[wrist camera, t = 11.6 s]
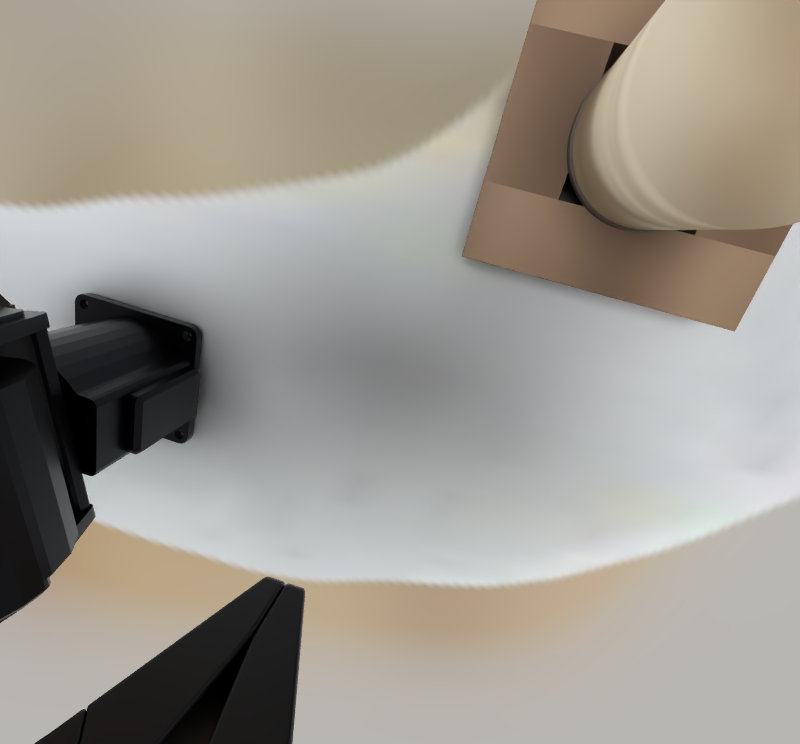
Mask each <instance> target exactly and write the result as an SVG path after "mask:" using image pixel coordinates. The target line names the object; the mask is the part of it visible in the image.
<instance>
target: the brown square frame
mask: <svg viewBox="0 0 800 744" xmlns="http://www.w3.org/2000/svg"><path fill="white" fill-rule="evenodd" d="M664 1H665V0H537V2H536V5H535V8H534V12H533V15H532V19H531V22H530V26H529V29H528V32H527V36H526V39H525V42H524V46H523V50H522V53H521V56H520V60H519V63H518V66H517V70H516V73H515V76H514V80H513V83H512V87H511V90H510V94H509V97H508V100H507V104H506V107H505V111H504V114H503V117H502V121H501V124H500V128H499V131H498V134H497V138H496V141H495V145H494V148H493V151H492V155H491V158H490V162H489V165H488V168H487V172H486V175H485V179H484V182H483V185H482V189H481V192H480V196H479V199H478V202H477V206H476V209H475V213H474V216H473V219H472V223H471V226H470V230H469V233H468V236H467V240H466V243H465V247H464V250H463V253H462V256H463V257H467V258H471V259H474V260H478V261H482V262H485V263H489V264H492V265H496V266H500V267H503V268H507V269H511V270H514V271H518V272H521V273H525V274H529V275H532V276H536V277H540V278H543V279H547V280H550V281H554V282H558V283H561V284H565V285H569V286H572V287H576V288H579V289H583V290H587V291H590V292H594V293H598V294H601V295H605V296H608V297H612V298H616V299H619V300H623V301H627V302H630V303H634V304H637V305H641V306H645V307H648V308H652V309H656V310H659V311H663V312H666V313H670V314H674V315H677V316H681V317H685V318H688V319H692V320H695V321H699V322H703V323H706V324H710V325H714V326H717V327H721V328H724V329H728V330H732V331H735V330H736V328H737V326H738V324H739V322H740V321H741V319H742V317H743V315H744V313H745V311H746V310H747V308H748V306H749V304H750V302H751V300H752V298H753V297H754V295H755V293H756V291H757V289H758V287H759V285H760V284H761V282H762V280H763V278H764V276H765V274H766V273H767V271H768V269H769V267H770V265H771V263H772V261H773V260H774V258H775V256H776V254H777V252H778V250H779V248H780V247H781V245H782V243H783V241H784V239H785V237H786V236H787V234H788V232H789V230H790V228H791V226H792V224H790V225H785V226H780V227H774V228H765V229H745V230H663V231H653V232H636V231H627V230H622V229H618V228H615V227H612V226H610V225H608V224H606V223H604V222H602V221H600V220H599V219H597V218H596V217H594V216H593V215H592V214H591V213H590V212H589V211H588V210H587V209H586V208H585V207H584V206H580V205H576V204H573V203H569V202H565V201H561V200H558V199H559V197H560V194H561V191H562V188H563V185H564V183H565V180H566V177H567V174H568V166H567V146H568V140H569V134H570V131H571V127H572V124H573V121H574V119H575V116H576V114H577V112H578V110H579V108H580V106H581V104H582V102H583V101H584V99H585V98H586V96H587V95H588V93H589V92H590V90H591V89H592V88H593V87H594V85H595V84H596V83H597V82H598V81H599V79H600V78H601V77H602V76H603V75H604V74H605V72H607V71H608V70H609V69H610V68H611V67H612V66H613V64H614V63H615V62H616V61H617V60H618V58H619V57H620V56H621V55H622V53H623V52H624V51H625V50H626V48H627V47H628V46H629V45H630V43H631V42H632V41H633V40H634V38H635V37H636V36H637V35H638V34H639V32H640V31H641V30H642V29H643V27H644V26H645V25H646V24H647V22H648V21H649V20H650V19H651V17H652V16H653V15H654V14H655V12H656V11H657V10H658V9H659V8H660V6H661V5H662V4H663V3H664Z"/></svg>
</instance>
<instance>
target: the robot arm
mask: <svg viewBox="0 0 800 744" xmlns="http://www.w3.org/2000/svg"><path fill="white" fill-rule="evenodd" d="M87 302H88V303H89V306H88V305H87ZM49 327H50V325H49V321H48V317H47V313H46V312H36V311H23V310H21V309H15V305H11V304H10V303H9V302H8V301H7V300H6V299H5V298H4V297H3V296H2V295H1V294H0V623H1V622H2V621H4V620H5V619H7V618H8V617H10V616H12V615H13V614H15V613H16V612H17V611H19V610H21V609H22V608H24V607H25V606H26V605H28V604H29V603H30V602H32V601H33V600H34V599H36V598H37V597H38V596H40V595H41V594H42V593H43V592H44V591H45V590H46V589H47V588H48V587H49V586H50V583H51V582H50V579H49V577H50V576H51V575H52V574H53V573H54V572H55V571H56V569H57V568H58V567H59V566H60V565H61V564H62V563H63V562H64V561H65V559H66V558H67V557H68V556H69V555H70V554H71V552H72V550H73V548H74V545H75V543H76V542H77V540H78V539H79V538H80V536H81V535H82V534H83V532H84V531H85V530H86V529H87V527H88V526H89V525H90V523H91V522H92V521H93V519H94V518H95V512H94V508H93V505H92V504H89V500H88V496H87V492H86V487H85V483H84V479H83V475H82V473H83V474H86V475H89V476H94V475H95V474H97V473H99V472H100V471H102V470H103V469H105V468H106V467H108V466H110V465H111V464H113V463H114V462H116V461H118V460H119V459H121V458H122V457H124V456H125V455H127V454H129V453H133V454H138V453H140V452H142V451H143V450H145V449H146V448H148V447H150V446H151V445H153V444H154V443H156V442H157V441H159V440H160V439H162V438H165V439H168V440H171V441H174V442H177V443H185V442H186V441H188V440H189V439H190V438H191V437H192V434H193V424H194V417H195V416H196V414H197V403H198V393H199V383H200V372H199V362H200V351H201V341H202V333H201V331H200V329H199V328H198V327H197V326H195V325H193V324H190V323H186V322H183V321H180V320H176V319H173V318H170V317H167V316H163V315H160V314H157V313H153V312H150V311H147V310H144V309H140V308H137V307H134V306H130V305H127V304H124V303H121V302H117V301H114V300H111V299H108V298H104V297H101V296H98V295H94V294H91V293H86V294H80V295H78V296H77V297H76V300H75V326H70V327H66V328H62V329H58V330H53V331H49V332H48V331H47V328H49ZM188 332H190V333H191V335H192V339H191V338H189V336H188ZM180 431H181V432H182V433H183V435H181V433H180ZM304 601H305V590H304V589H303V588H301V587H298V586H295V585H292V584H286V585H285V583H284V582H283V581H280V580H277V579H274V578H271V577H265V578H263V579H262V580H261V581H259V582H258V583H256V584H255V585H254V586H252V587H251V588H249V589H248V590H247V591H245V592H244V593H243V594H241V595H240V596H238V597H237V598H236V599H234V600H233V601H232V602H230V603H229V604H227V605H226V606H225V607H223V608H222V609H221V610H219V611H218V612H216V613H215V614H214V615H212V616H211V617H209V618H208V619H207V620H205V621H204V622H203V623H201V624H200V625H199V626H197V627H196V628H194V629H193V630H192V631H190V632H189V633H187V634H186V635H185V636H183V637H182V638H181V639H179V640H178V641H176V642H175V643H174V644H172V645H171V646H170V647H168V648H167V649H165V650H164V651H163V652H161V653H160V654H159V655H157V656H156V657H154V658H153V659H152V660H150V661H149V662H147V663H146V664H145V665H143V666H142V667H141V668H139V669H138V670H137V671H135V672H134V673H132V674H131V675H130V676H128V677H127V678H126V679H124V680H123V681H121V682H120V683H119V684H117V685H116V686H114V687H113V688H112V689H110V690H109V691H108V692H106V693H105V694H103V695H102V696H101V697H99V698H98V699H97V700H95V701H94V702H92V703H91V704H90V705H89V706H88V708H87V711H86V710H85V709H83V710H81V711H80V712H78V713H77V714H76V715H74V716H73V717H72V718H70V719H69V720H67V721H66V722H65V723H63V724H62V725H61V726H59V727H58V728H56V729H55V730H54V731H52V732H51V733H49V734H48V735H46V736H45V737H43V738H42V739H40V740H39V741H38V742H36V743H35V744H292V741H293V729H294V717H295V705H296V694H297V681H298V671H299V659H300V647H301V636H302V624H303V612H304Z"/></svg>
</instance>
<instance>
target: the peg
mask: <svg viewBox="0 0 800 744" xmlns="http://www.w3.org/2000/svg"><path fill="white" fill-rule="evenodd" d="M567 166H568V173H569V177H570V181H571V184H572V187H573V189H574V192H575V193H576V195H577V197H578V199H579V201H580V202H581V203H582V204H583V206H584V207H585V208H586V209H587V210H588V211H589V212H590V213H591V214H592V215H593V216H594V217H596V218H597V219H599V220H600V221H602V222H604V223H606V224H608V225H610V226H612V227H615V228H618V229H622V230H627V231H636V232H653V231H663V230H745V229H765V228H774V227H780V226H785V225H790V224H794V223H797V222H800V0H665V1H664V3H663V4H662V5H661V6H660V8H659V9H658V10H657V11H656V12H655V14H654V15H653V16H652V17H651V19H650V20H649V21H648V22H647V24H646V25H645V26H644V27H643V29H642V30H641V31H640V32H639V34H638V35H637V36H636V37H635V38H634V40H633V41H632V42H631V43H630V45H629V46H628V47H627V48H626V50H625V51H624V52H623V53H622V55H621V56H620V57H619V58H618V60H617V61H616V62H615V63H614V64H613V66H612V67H611V68H610V69H609V70H608V71H607V72H605V74H604V75H603V76H602V77H601V78H600V79H599V81H598V82H597V83H596V84H595V85H594V87H593V88H592V89H591V90H590V92H589V93H588V95H587V96H586V98H585V99H584V101H583V102H582V104H581V106H580V108H579V110H578V112H577V114H576V116H575V119H574V121H573V124H572V127H571V131H570V134H569V140H568V146H567Z"/></svg>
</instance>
